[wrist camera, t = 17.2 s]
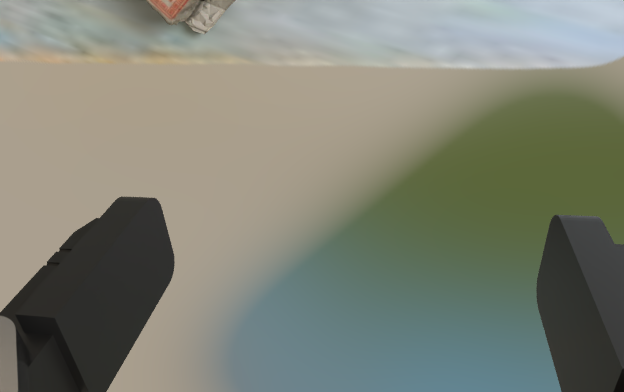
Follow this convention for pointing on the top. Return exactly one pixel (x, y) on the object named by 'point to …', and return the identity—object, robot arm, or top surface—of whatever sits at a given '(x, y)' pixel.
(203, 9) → the packaged product
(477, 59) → the top surface
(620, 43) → the top surface
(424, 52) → the top surface
